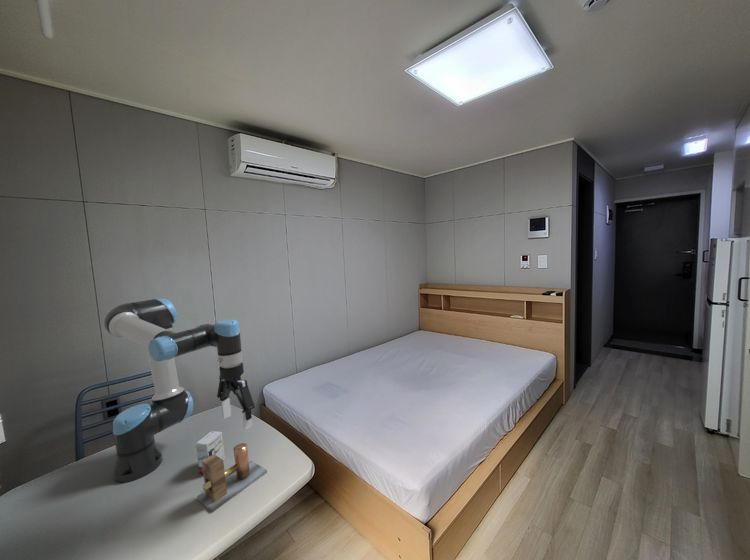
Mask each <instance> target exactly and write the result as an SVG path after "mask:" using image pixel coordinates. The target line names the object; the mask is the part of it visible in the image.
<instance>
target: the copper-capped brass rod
mask: <svg viewBox="0 0 750 560" xmlns="http://www.w3.org/2000/svg"><path fill="white" fill-rule="evenodd" d="M248 452H249V451H248V444H247V443H245V442H241V443H238V444H236V445H235V446H234V447H233V456H234V465H231V466H230V467H229V468H227V469H226V470H225V469H224V471H225V478H226V477H227V476H229V475H230V474H232V473H233V472H235V471H236V475H237V479H244V478H246V477H247V476H248V475H249V474H250V469H249V462H250V461H249V453H248ZM210 487H211V481H208V482H207V483H205V482H204V484H202V490H204V491H206V490H207V489H209V488H210ZM204 491H203V492H204Z"/></svg>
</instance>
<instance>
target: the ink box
mask: <svg viewBox="0 0 750 560" xmlns="http://www.w3.org/2000/svg"><path fill="white" fill-rule="evenodd" d="M223 438H224V437H223V432H222V431H216V430H211V431H210V432H208V433H207V434H206V435H204V436H203V437H202V438H201V439H199V440H197V442H196V444H195V447H196V454H197V465H198V473H199V474H203V465H202V461H203V460H205V459H206V458H208V457H210V456H212V455H213V454H215V455H216V456H218V457H219V458H221V459H222V460H223V462H224V461H225V460H226V457H225V455H226V454H225V449H224V448H225V447H224V446H225V445H224V439H223Z"/></svg>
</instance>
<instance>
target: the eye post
mask: <svg viewBox="0 0 750 560" xmlns="http://www.w3.org/2000/svg"><path fill="white" fill-rule="evenodd" d="M202 465H203V473H202V474H203V480H204V482H203V483H204V484H205V483H207V482H208V481H211V487H210V488H209V489H207V490H206V491H203V492H202V493H201V492H200V493H199V494H198V495H197V496H196V500H198V501H199V502H200V503H201V504H202V505H203V506H205V507H206V508H207V510H209V511H210V512H211V513H213V512H215V511H216V510H217V509H219V508H220V507H222V506H223V505H224V504H226V503H227V502H228V501H230V500H232V499H233V498H234V497H235V496H237V495H239V494H240V493H241V492H242V491H244V490H245V489H247V488H248V487H249V486H251V485H252V484H254V483H255V482H256V481H257V480H259V479H260V478H261V477H264V476H265V475H266V474H267V473H268V470H267V468H264V467H263V466H262V465H260V464H258V463H256V462H254V461H253V460H250V461H249V469H250V474H249V475H248V476H247V477H246V478H244V479H237V475H236V471H235V472H233V473H232V474H230V475H229V476H227V477H226V478H225V464H224V461H223V460H222V459H221V458H219V457H218V456H216V455H215V454H213V455H212V456H210V457H208V458H206V459H205V460H203V461H202Z"/></svg>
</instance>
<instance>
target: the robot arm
mask: <svg viewBox="0 0 750 560" xmlns="http://www.w3.org/2000/svg"><path fill="white" fill-rule="evenodd" d="M177 317H178V312H177V310H176V307H175V306H174V304H173V302H171V301H170V300H169V299H167V298H153V299H148V300H140V301H133V302H127V303H122V304H119V305H117V306H115V307H113V308H112V309H110V311H109V312H108V313H107V314H106V315H105V317H104V320H103V321H104V323H103V326H104V328H105V330H106V332H108V333H109V334H110V335H113V336H114V337H117V338H125V339H128V340H130V341H131V342H135V343H137V344H139V345H141V346H143V347H145V348H146V351H147V352H146V353H147V358H148V361H149V368H150V372H151V377H152V383H153V389H154V392H155V393H154V395H153V396H152V397H151V403H152V404H148V403H140V404H138V405H134V406H131V407H128V408H125V410H122V412H119V414H117V415H116V416H115V418H114V419H113V421H112V434H113V437H114V444H115V451H116V460H115V464H114V467H113V472H112V473H113V480H114V481H115V482H117V483H127V482H132V481H134V480H138V479H140V478H143V477H145V476H146V475H149V474H150V473H152V472H153V471H155V470H156V469H157V468H158V467H160V465H161V464H162V463H163V459H164V458H163V453H162V451H161V449H160V447H159V446H158V445H157V443H156V440H155V436H156V435H157V434H158V433H159V434H160V433H161V432H163V431H165V430H167V429H169V428H171V427H172V426H175V425H177V424H180V423H182V422H183V421H184V420H186V419H188V418H190V416H191V414H192V413H193V410H194V400H193V397H192V395H191V392H189V391H188V390H185V388H184V387H183V386H180V383H179V377H178V371H177V366H176V360H175V358H177V357H179V356H183V355H186V354H189V353H193V352H195V351H200V350H203V349H204V348H205V349H206V348H209V347H213V348H216V351H217V362H218V366H219V369H218V370H219V375H218V376H219V377H218V379H219V383H218V388H217V393H216V396H217V398H218V399H219V401H221V411H222V418H223V420H226V419H228V418H230V417H231V416H232V407H231V399H230V394H231V392H232V393H233V395H235V396H236V397H237V399H238V402H239V404H240V406H241V407H242V411H241V414H242V423H243V430H244V431H246V430H248V429H250V428H251V427H253V418H252V417H253V416H252V410H253V409H255V408H256V406H255V403H254V400H253V397H252V394H251V391H250V389H249V386H248V380H247V379H244V380H242V378H241V376H242V375H243V374H244V372H245V370H244V363H243V362H244V360H243V359H244V358H243V350H242V339H241V329H240V325H239V321H238V320H237V319H224V320H223V319H222V320H219V321H217V322H215V324H212V323H205V324H204V323H201V324H199V325H197V326H195V328H191V329H186V330H183V331H182V330H181V331H179V332H174V331H172V330H173V328H174V327H173V326H174V325H173V324H175V323H176V321H177V320H178V319H177Z"/></svg>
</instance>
